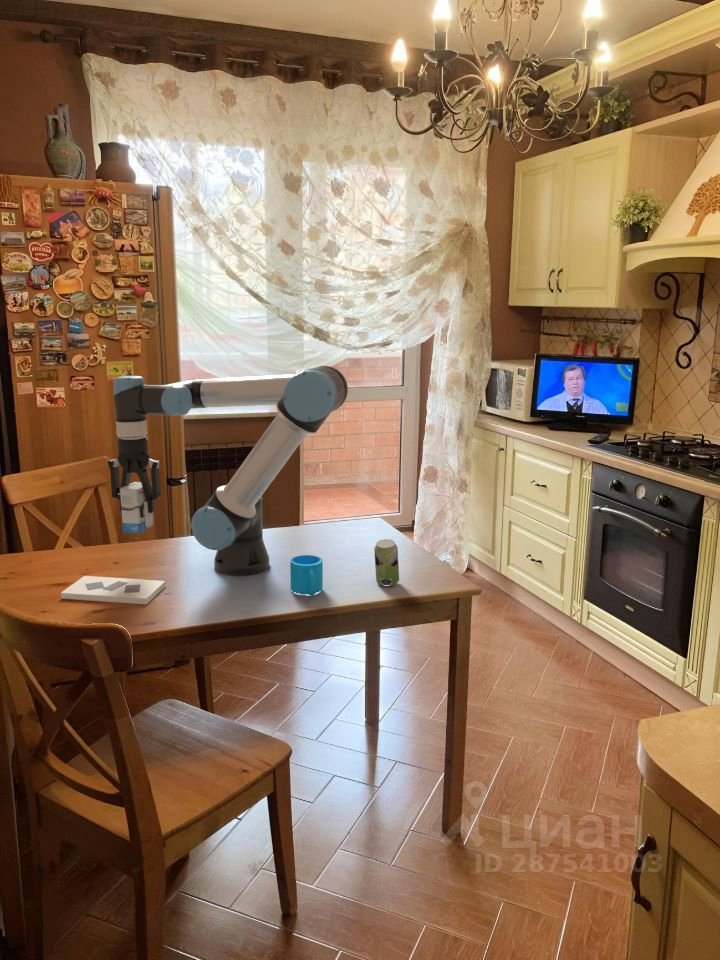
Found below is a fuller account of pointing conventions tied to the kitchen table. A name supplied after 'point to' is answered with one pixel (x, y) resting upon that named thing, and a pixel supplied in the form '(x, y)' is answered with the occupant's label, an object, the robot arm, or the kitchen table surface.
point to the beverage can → (386, 562)
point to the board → (114, 590)
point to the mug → (306, 574)
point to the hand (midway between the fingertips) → (138, 523)
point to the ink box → (133, 508)
